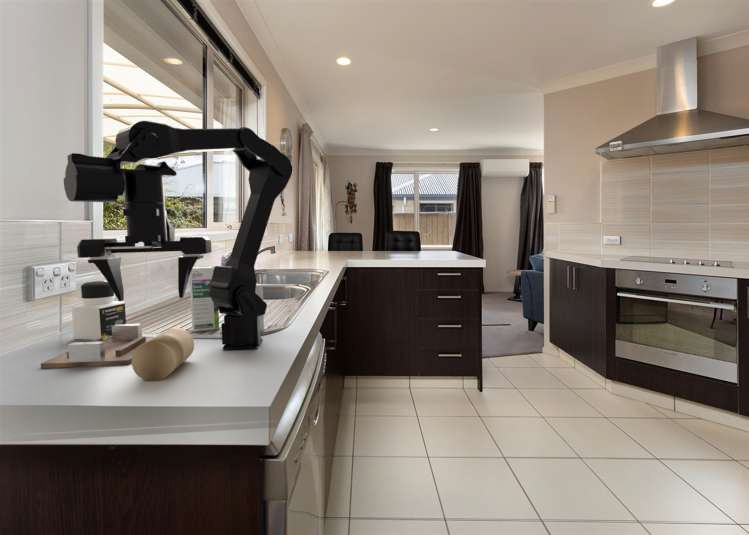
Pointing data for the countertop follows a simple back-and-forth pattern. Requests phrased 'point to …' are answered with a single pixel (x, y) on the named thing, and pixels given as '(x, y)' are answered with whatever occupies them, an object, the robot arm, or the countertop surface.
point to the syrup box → (202, 300)
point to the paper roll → (162, 354)
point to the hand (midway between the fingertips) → (151, 299)
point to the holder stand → (102, 349)
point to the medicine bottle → (97, 312)
